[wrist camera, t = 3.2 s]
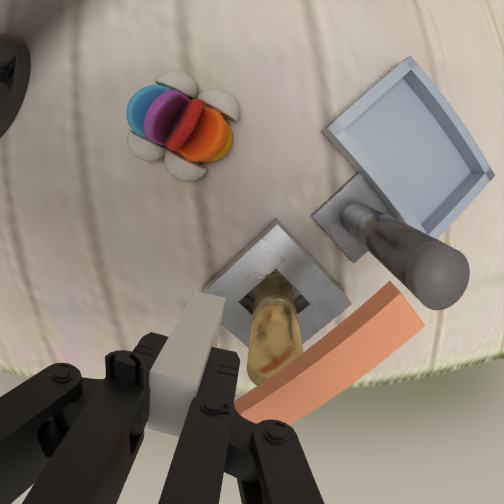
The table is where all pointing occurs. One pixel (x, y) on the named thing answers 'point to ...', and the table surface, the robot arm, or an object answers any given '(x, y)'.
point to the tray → (412, 149)
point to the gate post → (368, 227)
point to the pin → (273, 329)
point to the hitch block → (292, 268)
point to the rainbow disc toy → (181, 124)
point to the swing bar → (360, 339)
